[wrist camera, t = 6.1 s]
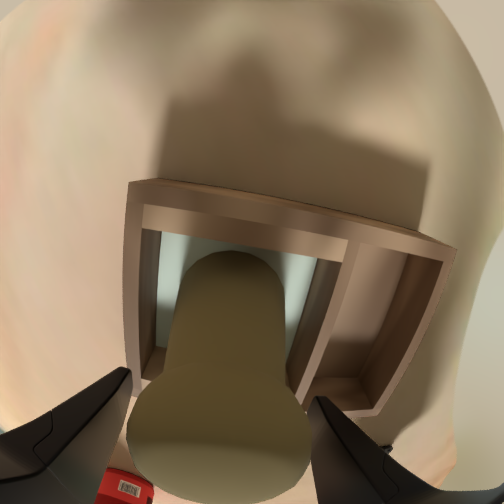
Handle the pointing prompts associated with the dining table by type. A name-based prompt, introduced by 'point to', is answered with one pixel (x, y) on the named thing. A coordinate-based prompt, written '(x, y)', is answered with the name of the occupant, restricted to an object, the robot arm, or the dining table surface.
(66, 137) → the dining table surface
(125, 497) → the canned food
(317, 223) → the socket box
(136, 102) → the dining table surface
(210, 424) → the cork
